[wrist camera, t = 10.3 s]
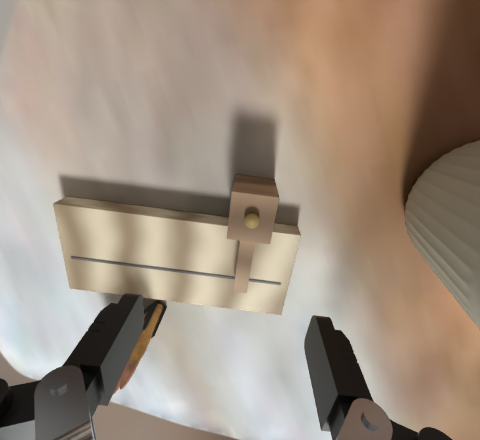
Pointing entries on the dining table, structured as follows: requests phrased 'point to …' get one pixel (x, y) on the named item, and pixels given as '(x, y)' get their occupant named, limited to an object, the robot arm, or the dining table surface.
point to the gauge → (250, 221)
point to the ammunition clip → (142, 340)
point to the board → (170, 255)
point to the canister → (450, 223)
